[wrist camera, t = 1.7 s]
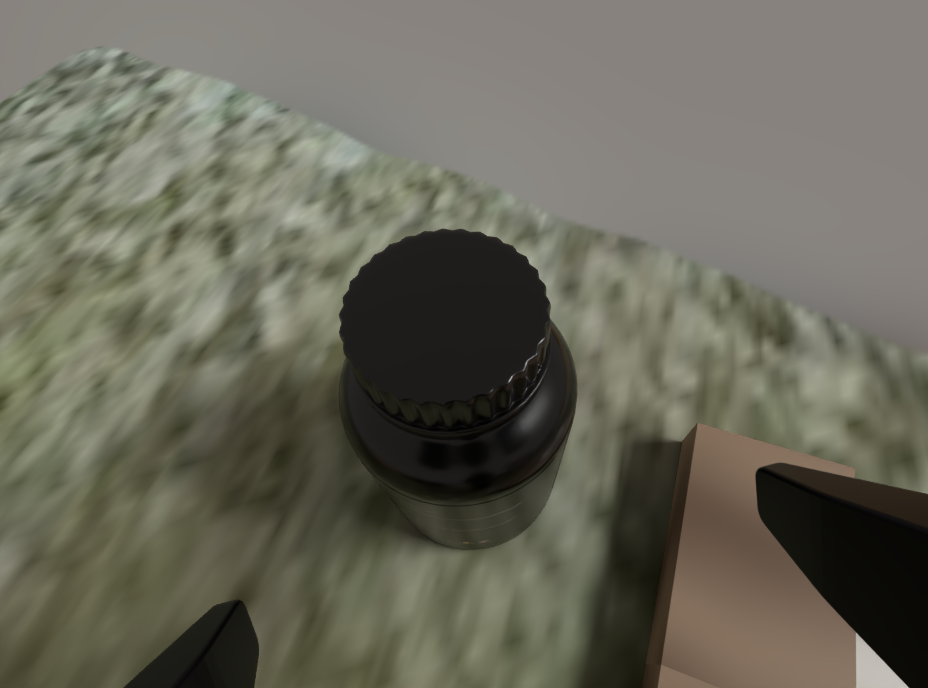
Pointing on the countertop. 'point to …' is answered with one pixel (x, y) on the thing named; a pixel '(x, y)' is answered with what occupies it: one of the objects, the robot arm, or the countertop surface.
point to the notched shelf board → (744, 585)
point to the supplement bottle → (456, 385)
